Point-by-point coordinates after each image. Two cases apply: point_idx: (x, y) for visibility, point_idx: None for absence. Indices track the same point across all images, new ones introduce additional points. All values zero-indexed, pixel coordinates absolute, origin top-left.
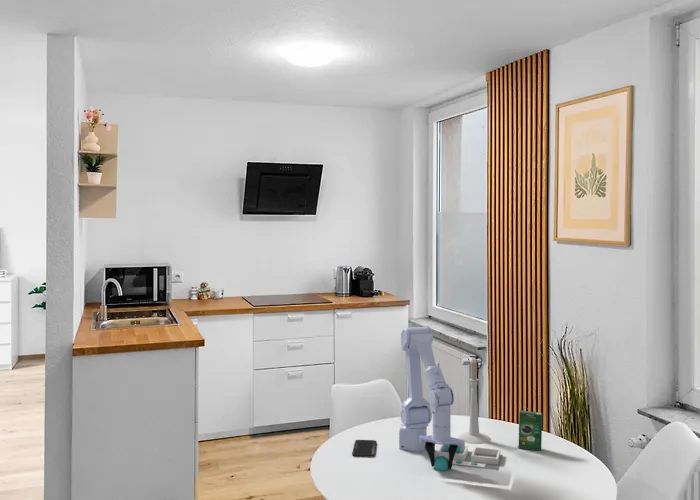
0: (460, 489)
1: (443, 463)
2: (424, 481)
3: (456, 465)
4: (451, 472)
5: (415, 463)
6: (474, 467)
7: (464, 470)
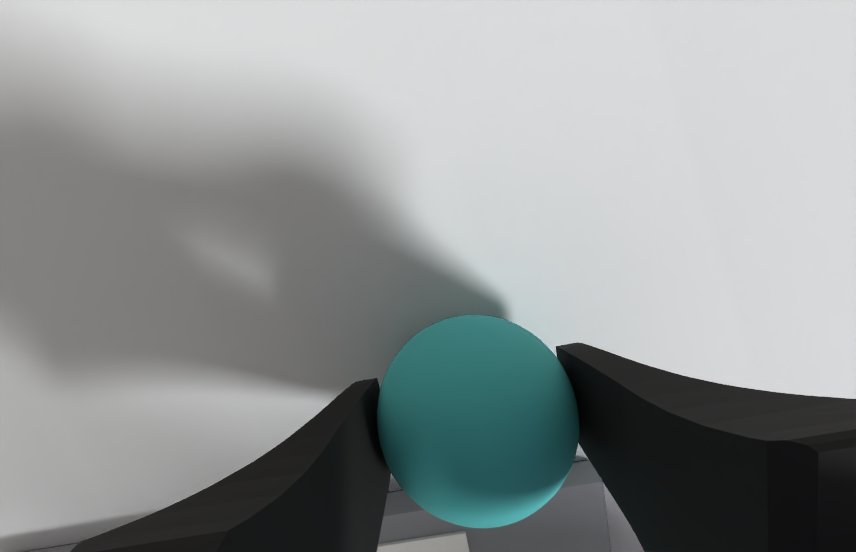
0: (98, 13)
1: (422, 360)
2: (542, 24)
3: None
4: None
5: None
6: None
7: None
